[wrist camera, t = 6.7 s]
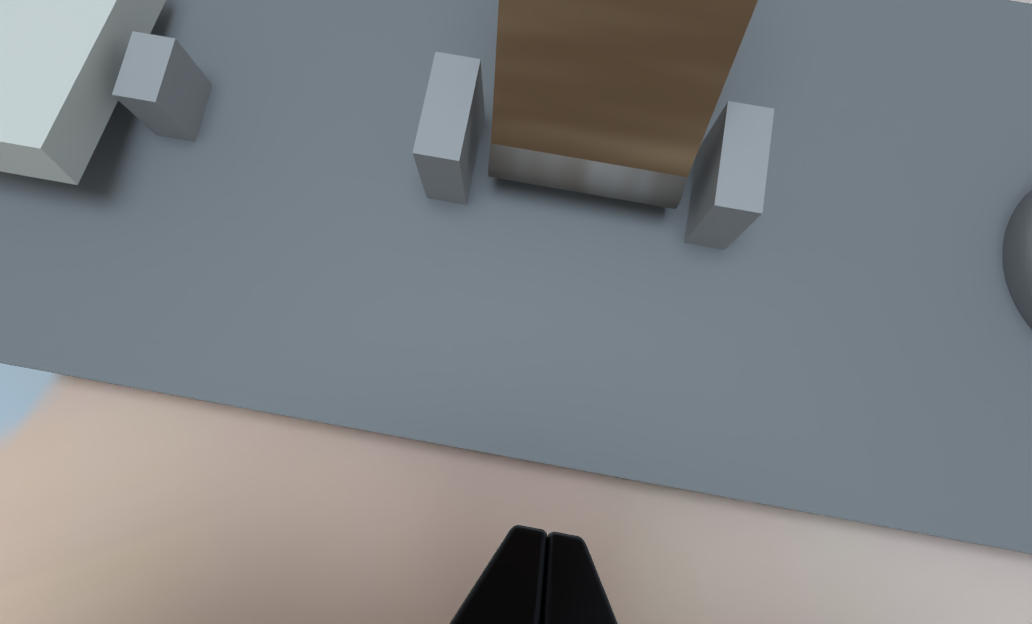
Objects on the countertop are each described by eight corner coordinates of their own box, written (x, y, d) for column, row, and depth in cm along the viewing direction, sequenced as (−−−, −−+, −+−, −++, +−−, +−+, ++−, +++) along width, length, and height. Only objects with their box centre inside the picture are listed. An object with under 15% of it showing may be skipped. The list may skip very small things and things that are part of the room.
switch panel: (1304, 604, 17) (1553, 650, 13) (-195, 326, 18) (-399, 289, 14) (1280, 84, 20) (1478, -11, 16) (-15, -129, 21) (-141, -269, 17)
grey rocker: (77, 184, 16) (40, 148, 14) (-77, 157, 16) (-128, 118, 14) (167, -2, 18) (141, -49, 16) (30, -26, 18) (-6, -74, 16)
